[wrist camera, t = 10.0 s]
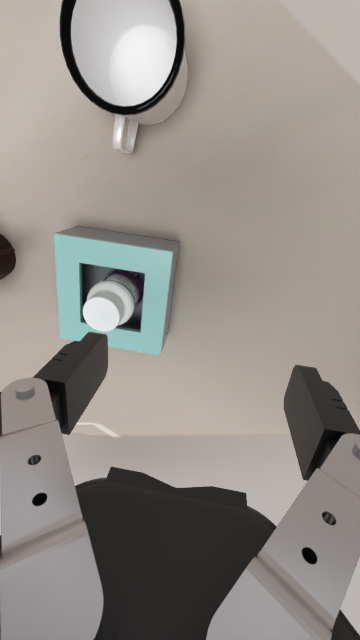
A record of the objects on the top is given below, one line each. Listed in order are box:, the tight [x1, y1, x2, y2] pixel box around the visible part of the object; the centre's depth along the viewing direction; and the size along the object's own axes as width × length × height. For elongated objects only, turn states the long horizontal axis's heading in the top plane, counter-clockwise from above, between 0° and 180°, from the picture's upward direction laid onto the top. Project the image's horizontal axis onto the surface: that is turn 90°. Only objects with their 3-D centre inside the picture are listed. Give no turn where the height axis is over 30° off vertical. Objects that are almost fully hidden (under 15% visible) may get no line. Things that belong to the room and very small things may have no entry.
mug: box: [60, 0, 188, 154], centre depth 26 cm, size 12×10×9 cm
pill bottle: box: [83, 268, 145, 332], centre depth 34 cm, size 5×5×10 cm
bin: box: [54, 226, 179, 356], centre depth 37 cm, size 13×13×6 cm
